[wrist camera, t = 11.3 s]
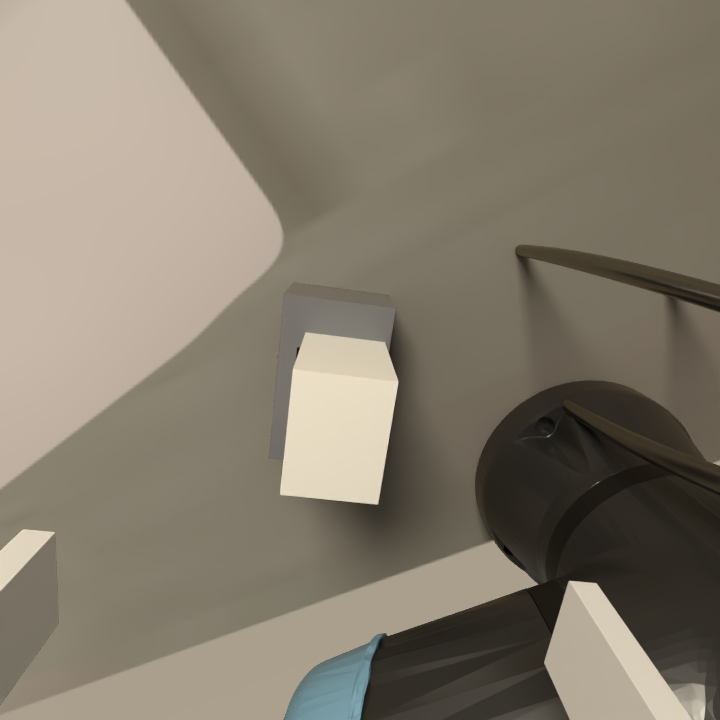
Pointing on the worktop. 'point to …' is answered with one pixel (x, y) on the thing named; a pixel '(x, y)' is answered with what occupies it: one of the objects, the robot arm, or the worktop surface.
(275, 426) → the socket block
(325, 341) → the plug
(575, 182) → the worktop surface
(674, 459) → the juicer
